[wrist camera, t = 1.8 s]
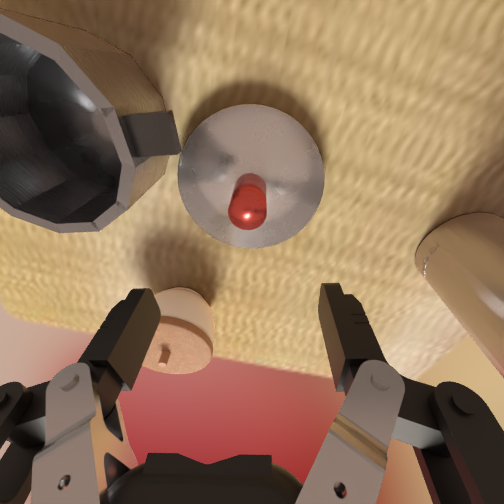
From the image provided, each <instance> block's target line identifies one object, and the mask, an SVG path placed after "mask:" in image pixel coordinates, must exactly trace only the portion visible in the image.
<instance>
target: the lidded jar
mask: <svg viewBox="0 0 504 504" xmlns="http://www.w3.org/2000/svg"><path fill="white" fill-rule="evenodd" d="M154 297H155V299H156V301H157V303H158V306H159V308H160V311H161V318H160V322H159V325H158V327H157V330H156V332H155V334H154V337H153V339H152V342H151V344H150V347H149V349H148V351H147V354H146V356H145V359H144V361H143V363H142V366H144V367H147V368H149V369H152V370H155V371H159V372H163V373H169V374H186V373H192V372H195V371H198V370H201V369H203V368H204V367H205V366H207V365H208V363H209V362H210V360H211V358H212V354H213V343H214V337H215V321H214V316H213V313H212V310H211V308H210V307H209V305H208V304H207V302H206V301H205V300H204V299H203V297H202V296H201V295H200V294H199V293H198V292H196V291H194V290H192V289H189V288H185V287H175V288H171V289H168V290H164V291H161V292H159V293H157V294H155V295H154Z"/></svg>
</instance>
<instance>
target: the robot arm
mask: <svg viewBox="0 0 504 504" xmlns="http://www.w3.org/2000/svg"><path fill="white" fill-rule="evenodd" d="M415 264H416V267H417V269H418V270H419V271H420V273H421V274H422V275H423V277H424V278H425V279H426V280H427V282H428V283H429V284H430V285H431V287H432V288H433V289H434V290H435V292H436V293H437V295H438V296H439V297H440V298H441V300H442V301H443V302H444V303H445V305H446V306H447V307H448V308H449V310H450V311H451V312H452V313H453V315H454V316H455V317H456V318H457V320H458V321H459V322H460V324H461V325H462V326H463V327H464V329H465V330H466V331H467V332H468V334H469V335H470V336H471V337H472V338H473V340H474V341H475V342H476V344H477V345H478V346H479V347H480V349H481V350H482V351H483V352H484V354H485V355H486V356H487V358H488V359H489V360H490V361H491V363H492V364H493V365H494V366H495V368H496V369H497V370H498V371H499V373H500V374H501V375H502V376H503V378H504V219H503V218H501V217H499V216H497V215H494V214H490V213H471V214H466V215H462V216H459V217H456V218H454V219H451V220H449V221H447V222H445V223H443V224H442V225H440V226H439V227H437V228H436V229H434V230H433V231H432V232H431V233H430V234H429V235H428V236H427V237H426V238H425V239H424V240H423V241H422V243H421V244H420V246H419V248H418V250H417V252H416V256H415ZM318 313H319V320H320V324H321V328H322V333H323V337H324V341H325V345H326V350H327V354H328V358H329V362H330V367H331V371H332V375H333V379H334V384H335V388H336V391H338V392H339V391H340V392H341V391H344V392H345V395H346V398H345V400H344V402H343V405H342V406H341V409H340V411H339V413H338V415H337V417H336V419H335V420H334V422H333V424H332V426H331V428H330V430H329V432H328V434H327V436H326V439H325V440H324V443H323V445H322V447H321V449H320V451H319V454H318V455H317V458H316V460H315V462H314V464H313V466H312V468H311V470H310V473H309V475H308V477H307V479H306V481H305V483H304V485H303V484H302V483H301V482H300V481H299V480H298V479H297V478H296V477H295V476H294V475H293V474H292V473H290V472H289V471H288V470H286V469H284V468H283V467H281V466H279V465H277V464H274V463H272V457H271V455H237V456H234V457H231V458H228V459H225V460H222V461H219V462H216V463H212V464H207V465H206V464H203V463H200V462H198V461H195V460H193V459H190V458H188V457H185V456H183V455H180V454H177V453H148V455H147V458H146V462H145V463H143V464H141V465H138V463H137V460H136V458H135V455H134V453H133V451H132V450H131V448H130V445H129V442H128V438H127V434H126V430H125V425H124V421H123V417H122V413H121V408H120V404H119V400H118V399H117V398H118V395H119V393H120V391H127V390H128V391H131V390H132V387H133V385H134V383H135V380H136V378H137V375H138V373H139V371H140V368H141V366H142V363H143V361H144V359H145V356H146V354H147V351H148V349H149V347H150V344H151V342H152V339H153V337H154V334H155V332H156V330H157V327H158V325H159V322H160V318H161V311H160V308H159V306H158V303H157V301H156V299H155V297H154V295H153V292H152V290H151V289H149V288H143V289H132V290H131V291H130V292H129V294H128V296H127V297H126V299H125V300H121V301H120V302H119V303H118V304H117V305H116V306H114V307H113V308H112V309H111V311H110V312H109V314H108V316H107V317H106V320H105V321H104V322H103V323H102V325H101V326H100V329H99V330H98V331H97V333H96V334H95V336H94V337H93V339H92V340H91V342H90V344H89V345H88V347H87V348H86V350H85V351H84V353H83V354H82V356H81V358H80V359H79V361H78V362H77V363H74V364H71V365H69V366H67V367H65V368H64V369H62V370H61V371H60V372H58V373H57V374H56V375H55V376H54V377H53V379H52V380H51V381H48V382H44V383H41V384H38V385H35V386H32V387H28V388H26V387H25V386H23V385H22V384H21V383H19V382H10V383H6V384H4V385H2V386H0V449H1V447H2V445H3V444H4V443H5V441H6V440H7V441H9V442H11V444H10V446H9V447H8V449H7V450H6V452H5V453H4V455H3V457H2V458H1V460H0V504H24V503H25V501H26V499H27V497H28V495H29V493H30V491H31V504H376V501H377V498H378V494H379V491H380V487H381V484H382V480H383V477H384V473H385V470H386V465H387V451H388V447H389V443H390V440H391V438H394V439H397V440H400V441H402V442H405V443H407V444H410V445H412V446H413V448H414V451H415V454H416V457H417V460H418V463H419V465H420V468H421V471H422V474H423V477H424V480H425V482H426V485H427V488H428V490H429V494H430V496H431V499H432V502H433V504H504V431H503V430H502V428H501V426H500V425H499V423H498V422H497V420H496V418H495V417H494V415H493V414H492V412H491V411H490V409H489V407H488V406H487V404H486V403H485V402H484V401H483V399H482V398H481V397H480V396H479V395H478V394H476V393H475V392H473V391H472V390H471V389H469V388H468V387H466V386H464V385H461V384H459V383H456V382H450V381H449V382H442V383H440V384H439V385H438V386H437V387H434V386H430V385H427V384H424V383H420V382H417V381H414V380H411V379H408V378H406V377H404V376H402V375H400V374H399V373H398V372H397V371H396V370H395V369H394V368H393V367H392V366H390V365H389V364H388V362H387V361H386V359H385V357H384V355H383V353H382V351H381V348H380V346H379V344H378V341H377V339H376V337H375V334H374V332H373V330H372V328H371V325H370V324H369V321H368V318H367V316H366V315H365V311H364V309H363V307H362V305H361V303H360V302H359V301H358V300H357V299H356V298H355V297H354V296H353V295H352V294H345V295H344V293H343V291H342V288H341V286H340V284H339V283H322V284H321V289H320V297H319V305H318Z"/></svg>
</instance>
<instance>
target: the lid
mask: <svg viewBox="0 0 504 504" xmlns="http://www.w3.org/2000/svg"><path fill="white" fill-rule="evenodd" d="M178 186H179V191H180V195H181V198H182V201H183V203H184V205H185V208H186V210H187V211H188V213H189V214H190V216H191V217H192V219H193V220H194V221H195V222H196V224H197V225H198V226H199V227H200V228H201V229H202V230H204V231H205V232H206V233H207V234H209V235H210V236H212V237H214V238H215V239H217V240H219V241H221V242H223V243H226V244H229V245H232V246H236V247H241V248H264V247H269V246H273V245H276V244H279V243H281V242H283V241H286V240H287V239H289V238H291V237H292V236H294V235H295V234H297V233H298V232H299V231H300V230H301V229H302V228H304V227H305V226H306V225H307V223H308V222H309V221H310V220H311V218H312V217H313V215H314V214H315V212H316V210H317V208H318V206H319V204H320V201H321V197H322V194H323V188H324V167H323V162H322V158H321V155H320V152H319V150H318V147H317V145H316V144H315V142H314V140H313V138H312V137H311V136H310V134H309V133H308V132H307V131H306V129H305V128H304V127H303V126H302V125H301V124H300V123H299V122H298V121H297V120H295V119H294V118H293V117H291V116H290V115H288V114H287V113H285V112H283V111H280V110H278V109H276V108H273V107H269V106H266V105H259V104H241V105H235V106H231V107H228V108H225V109H222V110H220V111H218V112H216V113H214V114H213V115H211V116H210V117H208V118H207V119H206V120H204V121H203V122H202V123H201V124H200V125H199V126H198V127H197V128H196V129H195V130H194V131H193V132H192V134H191V135H190V136H189V138H188V140H187V141H186V143H185V145H184V147H183V150H182V153H181V155H180V160H179V164H178Z"/></svg>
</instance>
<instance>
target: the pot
mask: <svg viewBox="0 0 504 504" xmlns="http://www.w3.org/2000/svg"><path fill="white" fill-rule="evenodd" d="M181 151H182V150H181V146H180V142H179V138H178V133H177V129H176V125H175V120H174V116H173V112H172V110H167V111H166V110H165V106H164V102H163V98H162V96H161V95H160V94H159V92H158V91H157V90H156V88H155V87H154V86H153V85H152V83H151V82H150V81H149V79H148V78H147V77H146V75H145V74H144V73H143V71H142V70H141V69H140V67H139V66H138V65H137V63H136V62H135V61H134V59H133V58H132V57H131V55H129V54H127V53H125V52H124V51H122V50H120V49H118V48H116V47H114V46H113V45H111V44H109V43H107V42H105V41H103V40H102V39H100V38H98V37H96V36H94V35H93V34H91V33H89V32H87V31H85V30H82V29H79V28H75V27H71V26H67V25H63V24H59V23H55V22H51V21H48V20H44V19H40V18H36V17H32V16H28V15H24V14H20V13H17V12H13V11H9V10H5V9H1V8H0V208H1V209H3V210H4V211H6V212H7V213H8V214H10V215H11V216H13V217H16V218H19V219H22V220H25V221H27V222H30V223H33V224H36V225H38V226H41V227H44V228H47V229H49V230H52V231H55V232H58V233H72V232H94V231H101V230H102V229H103V228H104V227H106V226H107V225H108V224H110V223H111V222H112V221H113V220H115V219H116V218H117V217H119V216H120V215H121V214H122V213H124V212H125V211H126V210H128V209H129V208H130V207H131V206H132V205H133V204H134V203H135V202H136V201H137V200H138V199H139V198H140V197H141V196H142V195H143V194H144V193H145V192H146V191H147V190H148V189H149V188H150V187H152V186H153V185H154V184H155V183H156V182H157V181H158V180H159V179H160V178H161V177H162V176H163V175H164V174H165V170H166V166H167V162H168V159H169V155H177V154H178V153H180V152H181Z"/></svg>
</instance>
